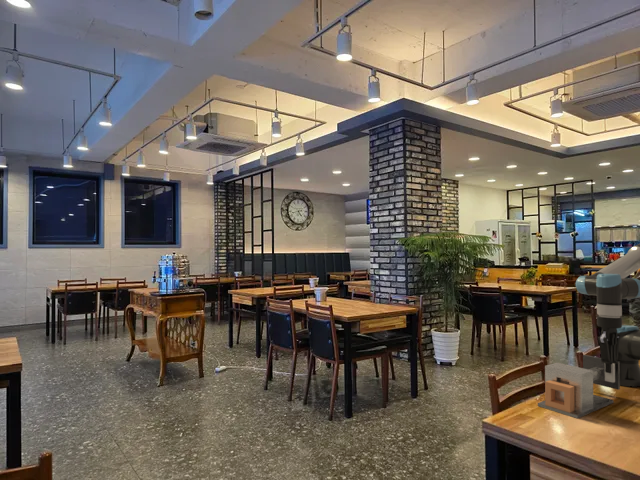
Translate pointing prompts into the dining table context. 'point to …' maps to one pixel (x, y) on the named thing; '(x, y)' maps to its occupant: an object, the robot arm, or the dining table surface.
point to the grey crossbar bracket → (599, 372)
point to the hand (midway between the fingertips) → (609, 381)
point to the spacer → (568, 396)
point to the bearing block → (575, 389)
